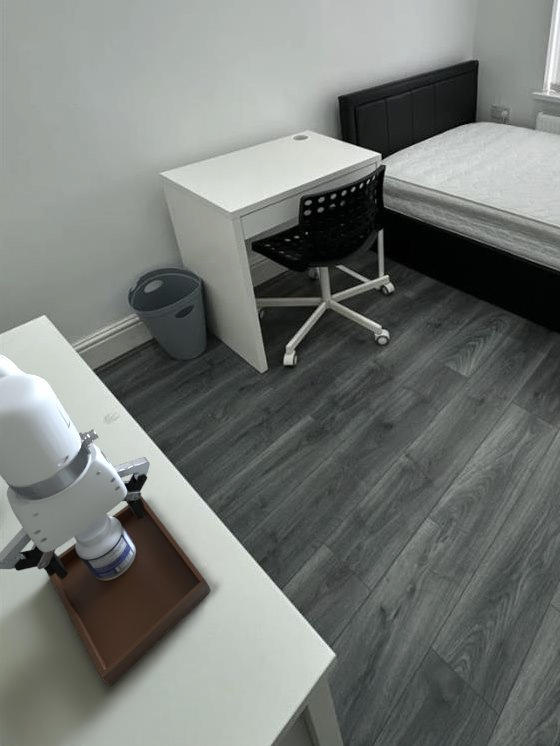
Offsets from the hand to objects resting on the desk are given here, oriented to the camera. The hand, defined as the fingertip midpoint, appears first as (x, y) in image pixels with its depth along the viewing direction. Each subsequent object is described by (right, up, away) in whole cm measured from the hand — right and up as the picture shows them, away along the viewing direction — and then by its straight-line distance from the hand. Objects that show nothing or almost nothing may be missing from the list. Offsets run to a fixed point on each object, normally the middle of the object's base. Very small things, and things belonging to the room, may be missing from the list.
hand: (101, 539), depth 65 cm
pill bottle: (0, -5, +3) cm, 6 cm away
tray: (+3, -7, +2) cm, 8 cm away
